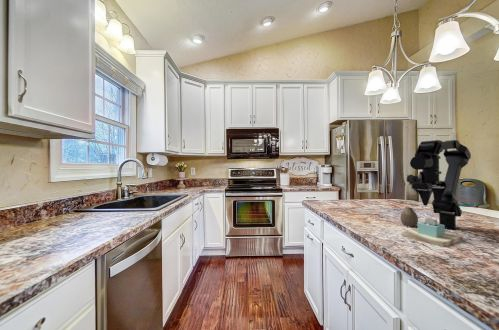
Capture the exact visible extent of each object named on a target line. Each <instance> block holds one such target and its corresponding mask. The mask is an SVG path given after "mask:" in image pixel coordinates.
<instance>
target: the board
mask: <svg viewBox="0 0 499 330" xmlns="http://www.w3.org/2000/svg"><path fill="white" fill-rule="evenodd" d="M401 237H405V238H409V239H413V240H416V241H420V242H424V243H427V244H432V245H436V246H438V247H443V248H444V247H447V246H450V245H452V244H456V243H458V242H462V241H464V238H463V237H464V236H463V235H459V234H454V233H450V232H446V231H445V235H444V236H440V237H437V238H436V237H432V236H428V235H423V234H419V233H418V227H417V228H414V229H409V230H405V231H401Z"/></svg>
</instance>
